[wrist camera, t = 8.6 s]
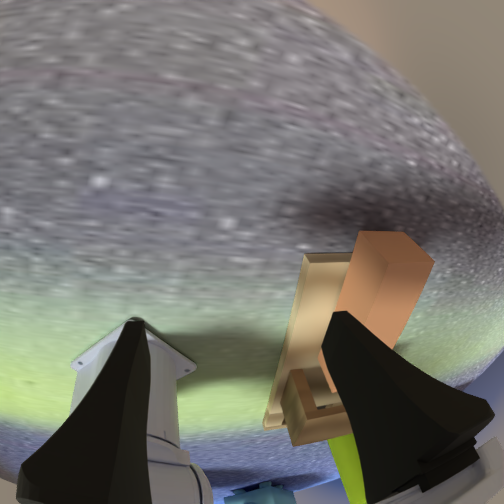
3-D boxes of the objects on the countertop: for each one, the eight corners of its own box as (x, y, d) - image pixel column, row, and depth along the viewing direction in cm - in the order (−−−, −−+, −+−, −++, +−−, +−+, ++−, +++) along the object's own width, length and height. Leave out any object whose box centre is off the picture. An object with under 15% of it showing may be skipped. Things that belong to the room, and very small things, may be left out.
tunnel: (348, 390, 33) (366, 429, 28) (279, 402, 31) (292, 446, 26) (366, 357, 29) (389, 400, 25) (290, 370, 28) (307, 419, 23)
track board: (334, 410, 37) (337, 417, 36) (262, 422, 35) (264, 430, 34) (410, 252, 24) (417, 259, 23) (304, 253, 22) (309, 263, 21)
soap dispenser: (339, 424, 41) (383, 535, 24) (366, 424, 44) (408, 522, 27) (315, 441, 43) (351, 546, 26) (343, 441, 46) (379, 534, 29)
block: (355, 352, 28) (371, 384, 25) (317, 358, 27) (331, 392, 24) (403, 231, 21) (434, 261, 18) (359, 230, 20) (388, 263, 17)
